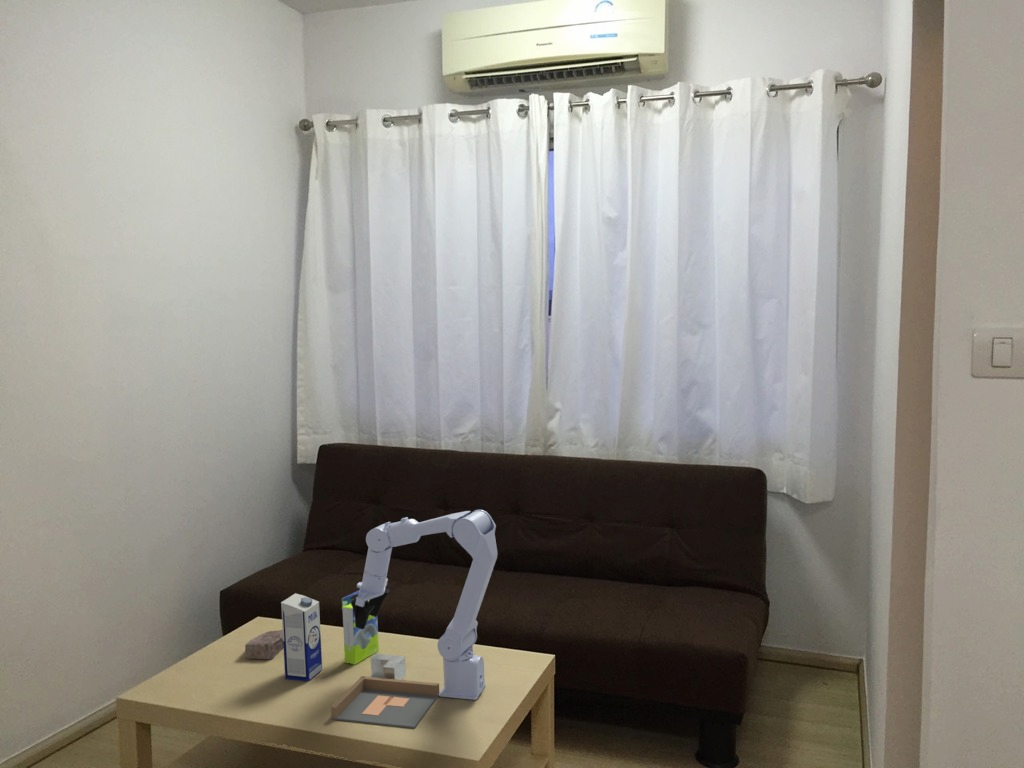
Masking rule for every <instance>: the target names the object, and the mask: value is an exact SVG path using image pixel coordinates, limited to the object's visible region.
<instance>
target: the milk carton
mask: <svg viewBox="0 0 1024 768" xmlns="http://www.w3.org/2000/svg"><path fill="white" fill-rule="evenodd" d="M280 604H281V607H280V608H281V624H282V630H283V646H284V647H283V663H284V679H286V680H294V681H303V682H310V681H312V679H313V678H314V677H316V676H317V675H318V674H319V673H320V672H322V671H323V659H322V658H323V655H322V654H323V653H322V639H321V637H322V635H321V620H320V618H321V617H320V601H318V600H316V599H313V598H311V597H308V596H306V595H303V594H299V593H296V592H295V593H294V594H292V595H290V596H289V597H288V598H286V599H284V600H282V601H281V602H280ZM321 670H322V671H321Z"/></svg>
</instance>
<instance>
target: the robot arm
mask: <svg viewBox="0 0 1024 768" xmlns="http://www.w3.org/2000/svg"><path fill="white" fill-rule="evenodd" d="M496 528H497V525H496V523H495V521H494V519H493V518H492V516H491V514H489V513H488V511H486V510H483V509H476V510H473V511H471V510H465V511H460V512H455V513H450V514H446V515H442V516H439V517H436V518H431V519H427V520H424V521H420V522H419V521H418V520H416V519H415V518H409V517H408V516H406V517H402V518H401V519H400V521H396V522H391V521H388V522H384V523H383V524H382V523H381V524H380V525H378V526H376V527H374V528H372V529H370V530H369V531H368V532H367V533H366V536H365V542H366V545H367V547H368V549H367V552H366V553H367V554H366V559H365V564H364V570H363V575H362V580H361V581H359V582H358V583H357V584H356V588H357V589H359V590H360V591H359V590H358V591H359V595H358V594H357V596H356V597H357V598H356V597H354V598H352V599H353V600H352V602H351V605H352V607H353V610H354V614H355V625H356V627H357V628H360V629H364V628H365V626H366V623H367V620H368V617H369V615H371V616H374V617H377V618H378V616H379V613H380V611H381V608H382V606H383V604H384V602H385V600H386V598H387V597H388V596H389V594H390V593H391V590H390V589H389V588H387V585H388V581H389V579H388V577H387V576H388V572H389V571H388V570H389V566H390V561H391V555H392V551H393V547H394V548H395V547H401V546H405V545H409V544H414V543H417V542H418V541H420V539H421V537H422V536H428V535H433V534H440V533H446V534H447V536H449V538H454V540H455V541H456V542H457V543H458V544H460V546H461V547H462V548H463V549H464V550H465V551H466V552H467V554H469V555H470V556H471V558H472V561H471V565H470V568H469V571H468V574H467V577H466V579H465V582H464V585H463V589H462V592H461V595H460V596H459V597H460V598H459V601H458V604H457V606H456V610H455V613H454V616H453V618H452V620H451V621H450V622H449V624H448V626H447V627H446V629H445V632H444V633H443V634H442V636H441V637H439V638H438V640H437V650H438V652H439V654H440V656H441V657H442V661H443V663H442V664H443V666H442V667H443V687H442V688H441V690H439V696H438V697H443V698H454V699H463V700H473V701H475V700H477V699H478V698H479V696H480V695H481V693H482V692H483V690H484V689H485V687H486V682H485V662H484V661H485V660H484V658H483V657H482V656H480V655H476V654H474V649H473V648H474V647H473V646H474V644H475V643H476V641H477V640H478V633H477V628H478V625H479V622H478V621H477V617H478V615H479V614H478V613H479V611H480V608H481V606H482V603H483V600H484V596H485V594H486V592H487V588H488V585H489V582H490V578H491V577H492V573H493V571H494V567H495V565H496V562H497V559H498V547H497V542H496V535H495V534H496ZM368 600H369V602H368Z"/></svg>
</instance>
